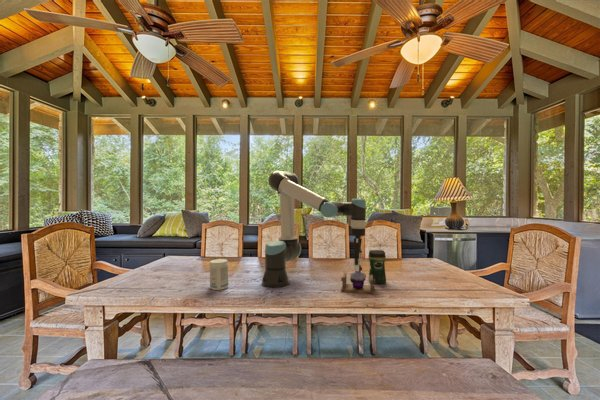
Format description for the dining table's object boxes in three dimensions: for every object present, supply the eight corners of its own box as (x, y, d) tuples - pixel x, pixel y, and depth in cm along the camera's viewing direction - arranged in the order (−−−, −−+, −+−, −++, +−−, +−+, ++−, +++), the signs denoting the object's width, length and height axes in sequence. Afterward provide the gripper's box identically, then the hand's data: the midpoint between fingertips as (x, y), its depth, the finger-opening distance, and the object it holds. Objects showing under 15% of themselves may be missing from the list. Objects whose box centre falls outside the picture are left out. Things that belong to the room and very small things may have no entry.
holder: (340, 291, 144) (340, 277, 144) (342, 285, 154) (342, 272, 154) (375, 294, 140) (375, 280, 140) (374, 288, 149) (374, 274, 149)
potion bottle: (346, 285, 149) (346, 263, 149) (360, 284, 152) (360, 262, 152) (355, 290, 141) (355, 267, 141) (369, 288, 144) (369, 265, 144)
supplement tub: (227, 284, 156) (227, 258, 156) (229, 289, 147) (229, 261, 147) (209, 286, 153) (209, 259, 153) (210, 291, 144) (209, 263, 144)
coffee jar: (383, 280, 163) (384, 249, 163) (387, 284, 155) (387, 251, 155) (367, 280, 164) (367, 248, 164) (369, 284, 156) (369, 251, 156)
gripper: (364, 231, 133) (363, 274, 134) (365, 225, 158) (364, 262, 158) (348, 230, 135) (347, 273, 136) (352, 225, 159) (351, 261, 160)
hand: (357, 267), depth 147 cm, fingers open, 13 cm apart
